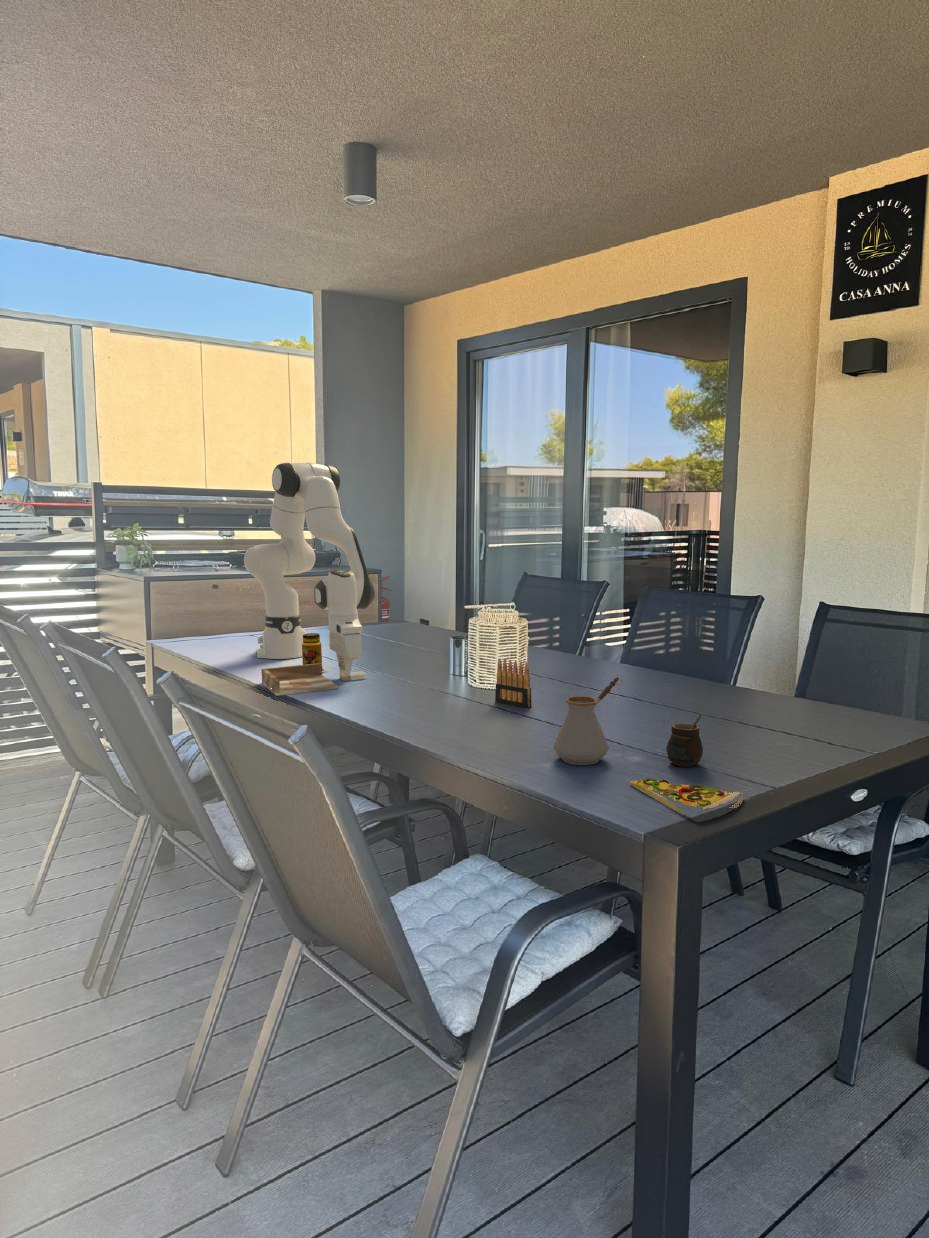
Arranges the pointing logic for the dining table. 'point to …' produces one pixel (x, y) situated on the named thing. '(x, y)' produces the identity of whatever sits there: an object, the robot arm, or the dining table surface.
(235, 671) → the dining table surface
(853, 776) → the dining table surface
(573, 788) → the dining table surface
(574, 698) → the coffee pot
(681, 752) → the mate gourd
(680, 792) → the pizza slice
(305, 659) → the condiment
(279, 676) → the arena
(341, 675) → the bracket
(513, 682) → the ammunition clip
